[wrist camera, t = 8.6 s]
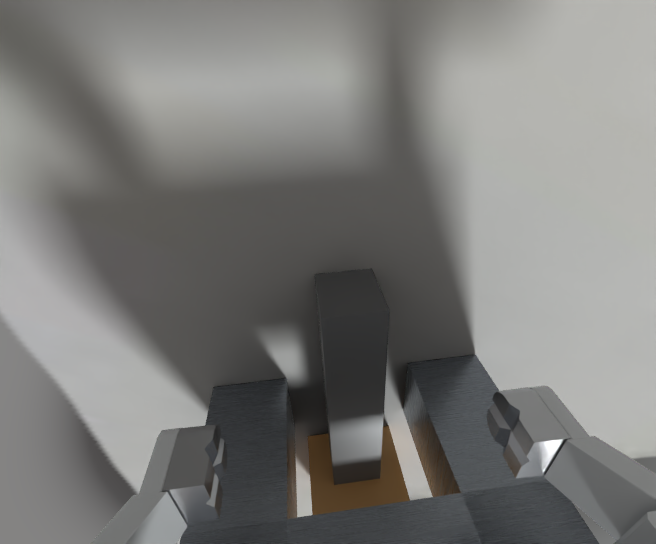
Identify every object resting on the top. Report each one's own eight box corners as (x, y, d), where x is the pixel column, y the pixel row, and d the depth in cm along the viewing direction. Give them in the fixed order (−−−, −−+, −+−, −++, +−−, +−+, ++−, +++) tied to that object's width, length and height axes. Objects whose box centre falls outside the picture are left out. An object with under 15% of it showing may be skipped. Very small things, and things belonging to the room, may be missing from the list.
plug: (285, 277, 15) (286, 364, 10) (399, 265, 15) (444, 345, 11) (313, 479, 23) (320, 572, 19) (385, 469, 24) (407, 558, 19)
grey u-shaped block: (213, 387, 18) (134, 751, 8) (475, 354, 19) (669, 651, 9) (229, 433, 20) (180, 765, 10) (464, 402, 21) (612, 683, 11)
